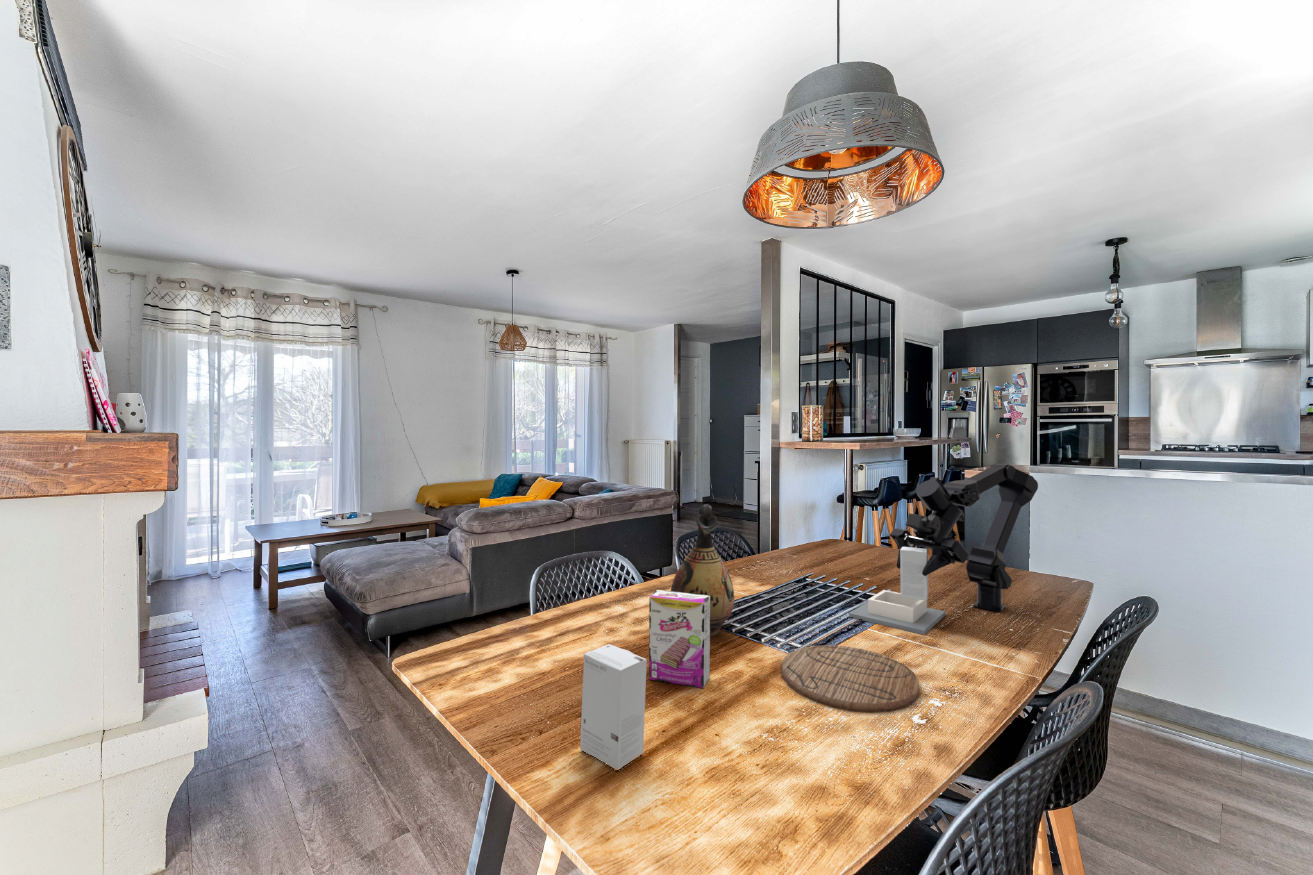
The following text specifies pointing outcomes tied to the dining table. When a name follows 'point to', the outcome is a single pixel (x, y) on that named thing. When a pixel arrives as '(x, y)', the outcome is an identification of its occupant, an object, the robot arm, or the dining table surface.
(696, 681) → the candy bar box
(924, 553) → the skincare box
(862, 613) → the slate board
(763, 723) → the dining table surface
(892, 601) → the holder
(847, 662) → the trivet
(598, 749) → the skincare box
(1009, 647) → the dining table surface
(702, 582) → the ceramic jug
